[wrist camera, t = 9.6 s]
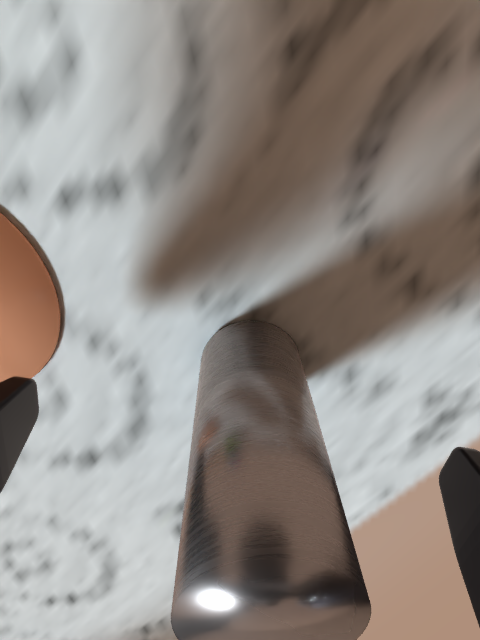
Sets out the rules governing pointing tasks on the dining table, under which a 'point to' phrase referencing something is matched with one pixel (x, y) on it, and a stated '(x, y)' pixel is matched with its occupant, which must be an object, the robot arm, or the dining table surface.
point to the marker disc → (25, 306)
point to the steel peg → (262, 504)
